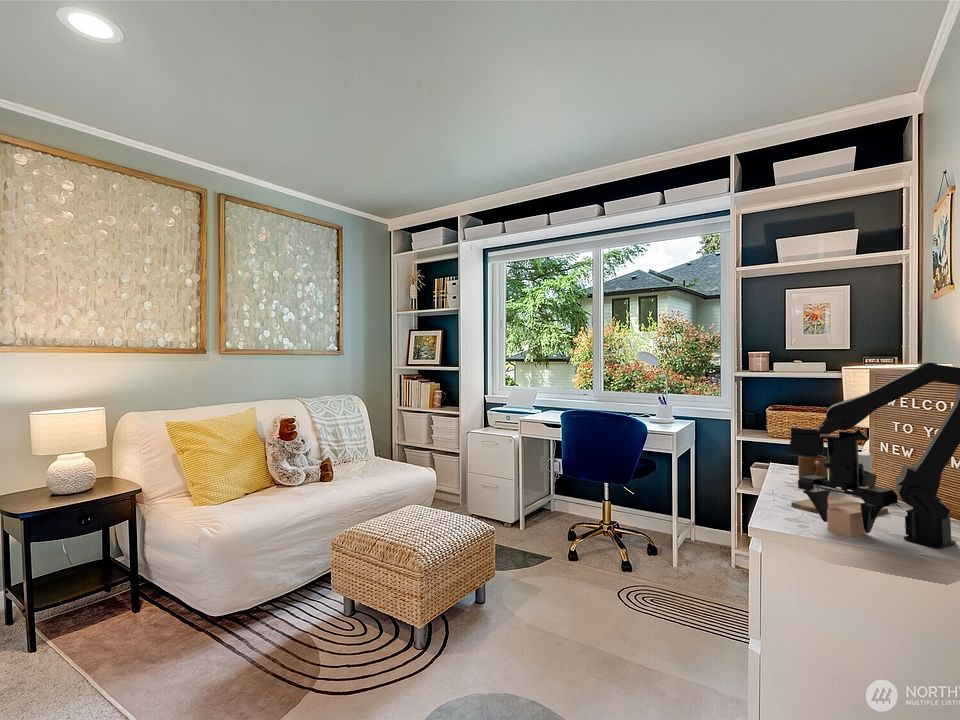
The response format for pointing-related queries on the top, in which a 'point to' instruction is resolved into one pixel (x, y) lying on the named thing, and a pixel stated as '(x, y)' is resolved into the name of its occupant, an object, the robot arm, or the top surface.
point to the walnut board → (832, 504)
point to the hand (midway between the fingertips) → (845, 527)
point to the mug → (812, 466)
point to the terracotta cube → (845, 521)
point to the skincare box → (865, 462)
